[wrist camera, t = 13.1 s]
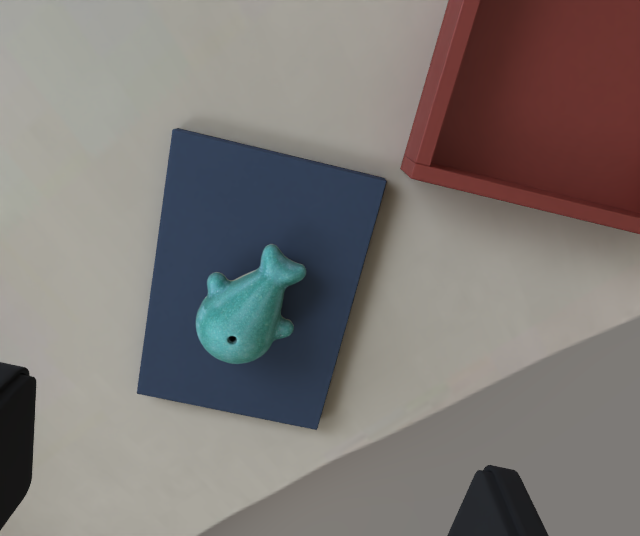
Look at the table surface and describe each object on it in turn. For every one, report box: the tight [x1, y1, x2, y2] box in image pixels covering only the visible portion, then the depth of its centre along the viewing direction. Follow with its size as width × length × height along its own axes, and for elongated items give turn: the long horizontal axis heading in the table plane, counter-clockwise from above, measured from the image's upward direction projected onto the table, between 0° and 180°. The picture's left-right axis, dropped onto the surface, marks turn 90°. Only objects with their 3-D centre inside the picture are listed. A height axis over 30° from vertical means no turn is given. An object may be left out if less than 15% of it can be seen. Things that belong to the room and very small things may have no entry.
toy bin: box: [400, 0, 640, 234], centre depth 25 cm, size 17×16×4 cm
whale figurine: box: [196, 244, 306, 364], centre depth 28 cm, size 6×7×4 cm
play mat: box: [137, 128, 387, 430], centre depth 30 cm, size 17×12×1 cm
